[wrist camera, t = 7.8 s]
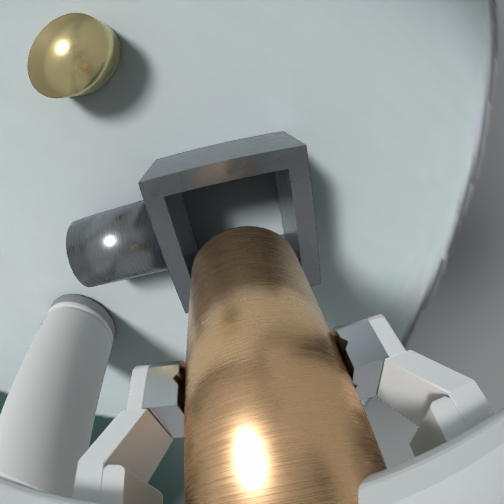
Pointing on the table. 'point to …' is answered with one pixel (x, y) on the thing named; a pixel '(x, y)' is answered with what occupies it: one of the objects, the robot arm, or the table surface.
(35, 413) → the travel mug
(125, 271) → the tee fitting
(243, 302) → the copper brown cylinder
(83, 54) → the brass round knob
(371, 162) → the table surface
